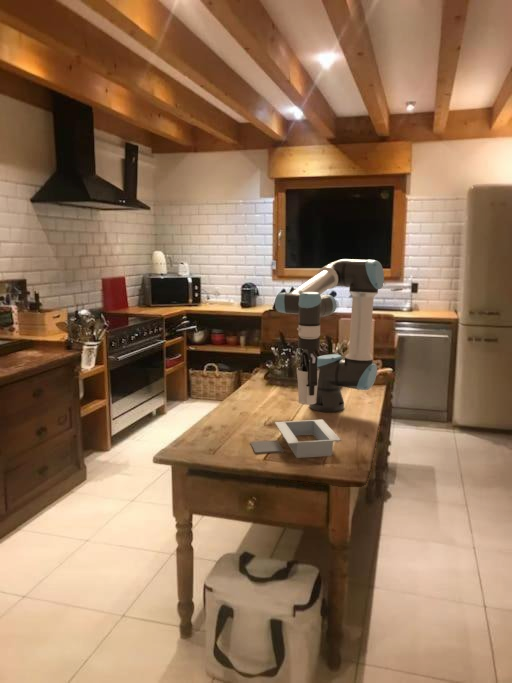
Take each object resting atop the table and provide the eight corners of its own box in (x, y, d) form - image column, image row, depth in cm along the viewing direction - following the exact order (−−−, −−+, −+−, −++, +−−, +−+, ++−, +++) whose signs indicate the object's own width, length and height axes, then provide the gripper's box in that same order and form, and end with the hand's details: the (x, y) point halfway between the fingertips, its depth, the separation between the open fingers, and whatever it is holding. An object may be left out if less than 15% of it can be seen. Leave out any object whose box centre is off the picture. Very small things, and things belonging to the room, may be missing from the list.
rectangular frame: (322, 433, 213) (322, 419, 212) (340, 455, 192) (341, 439, 191) (274, 436, 209) (274, 422, 208) (288, 458, 188) (288, 443, 187)
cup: (303, 406, 192) (304, 372, 190) (291, 400, 199) (292, 367, 197) (323, 403, 196) (324, 370, 194) (310, 397, 203) (311, 365, 200)
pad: (277, 441, 204) (277, 440, 204) (283, 452, 194) (283, 450, 194) (250, 443, 202) (250, 441, 202) (255, 453, 192) (255, 452, 192)
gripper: (291, 332, 202) (290, 392, 207) (306, 342, 182) (304, 409, 187) (311, 331, 203) (309, 391, 208) (328, 342, 184) (326, 408, 188)
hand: (307, 400), depth 197 cm, fingers closed on cup, 7 cm apart
